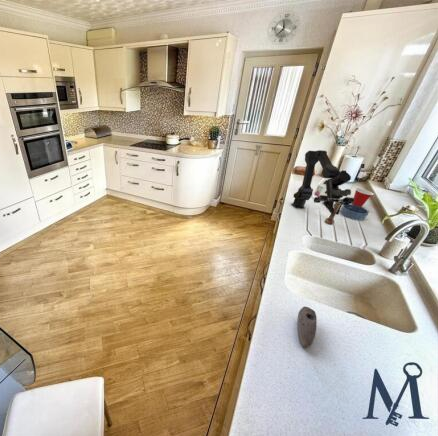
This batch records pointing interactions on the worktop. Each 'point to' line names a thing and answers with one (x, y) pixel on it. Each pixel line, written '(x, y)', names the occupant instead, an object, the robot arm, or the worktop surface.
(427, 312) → the worktop surface
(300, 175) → the worktop surface
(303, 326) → the perforated stone tool
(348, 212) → the bowl
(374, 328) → the worktop surface
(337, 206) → the muddler
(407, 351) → the worktop surface
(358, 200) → the plastic cup
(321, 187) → the milk bottle
